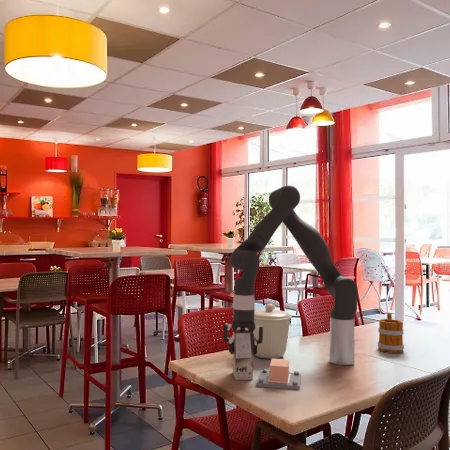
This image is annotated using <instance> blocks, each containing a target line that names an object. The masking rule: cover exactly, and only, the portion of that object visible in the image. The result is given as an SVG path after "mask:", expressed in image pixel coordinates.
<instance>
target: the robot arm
mask: <svg viewBox="0 0 450 450" xmlns="http://www.w3.org/2000/svg"><path fill="white" fill-rule="evenodd" d="M300 201H301V194H300V191H299V190H298V188H296V186H294V185H291V184H290V185H287V184H286V185H284V186H281V187H279V188H278V189H275V190H273V191H272V192H271V193H270V194H269V195H268V203H269V206H270V208H271V209H270V211H269V212H268V213H267V214H266V215H265V216H264V217H263V218H262V219H261V220H260V221H259V222H258V223H257V224H256V226H255V227H254V228H253V230H251V233H250V234H249V236H248V237H247V238H246V239H245V240H244V241H243V242H242V243H240V244H239V245H238V246H237V247H236V248H235V249H234V250H233V252H232V253H231V255H230V259H229V261H230V262H229V263H230V265H231V267H232V268H233V269H235V270H236V271H237V270H238V271H243V273H242V276H239V277H237V278H235V279H234V283H233V285H234V287H233V288H234V289H233V291H234V294H233V301H232V303H233V304H232V323H227V322H226V323H225V324H224V325H223V341H224V342H227V343H228V352H229V354H230V355H233V353H234V343H233V341H234V339H235V333H234V332H235V330H236V331H240V330H241V331H248V332H250V331H254V330H255V329H257V332H259V340H257V339H256V338H255V335H254V348H253V357H255V354H257V346H258V344H261V343H262V342H263V325H261V326H256V325H255V323H254V315H255V309H256V308H255V307H256V305H255V303H256V302H255V300H256V299H255V282H256V279H257V275H258V272H259V268H260V263H261V262H260V256H259V254H258V253H261V252H263V251H264V250H265V249H266V246H267V245H268V244H269V242H270V240H271V239H272V237H273V235H274V234H275V233H276V231H277V229H278V228H279V227H280V226H281V225H282V224H284V227H286V228H287V230H288V231H289V233H290V235H292V238H293V239H295V241H296V243H297V245H298V246H299V248H300V249H301V251H302V253H303V254H304V255H305V257H306V258H307V260H308V262H310V264H311V265H312V267H313V268H314V270H316V272H317V274H318V275H319V276H320V278H321V280H322V282H323V284H324V286H325V288H326V290H327V292H328V294H329V295H330V296H331V297H332V298H333V299H334V305H333V308H332V309H331V310H330V312H329V313H330V314H329V317H330V318H329V319H330V321H329V355H328V356H329V362H330V363H331V364H335V365H339V366H349V365H350V366H351V365H352V366H353V365H355V345H356V343H355V317H356V313H357V308H358V294H359V293H358V291H359V289H358V286H357V283H356V282H355V281H354V280H353V279H352V278H349V277H347V276H346V277H345V276H344V275H343V274H342V273H341V272H340V271H339V269H338V268H337V267H336V265H335V263H334V262H333V260H332V256H331V252H330V248H329V247H328V244H327V243H326V241H325V239H324V237H323V236H322V235H321V233H320V232H319V231H318V229H316V228H315V227H313V226H312V225H310V224H309V223H308V222H306V221H304V220H303V219H302V218H301V217H300V216H299V215H298V214H297V213H296V211H295V209H296V207H297V206H299V203H300ZM230 329H232V331H233V334H232V335H231V337H229V331H230Z"/></svg>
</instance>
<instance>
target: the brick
mask: <svg viewBox="0 0 450 450" xmlns="http://www.w3.org/2000/svg"><path fill="white" fill-rule="evenodd" d="M269 371H270V376H269V381H280V382H288V377H289V373H290V359H285V358H275V359H273V358H272V359H270V364H269Z"/></svg>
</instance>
